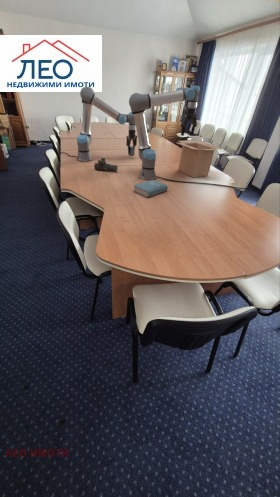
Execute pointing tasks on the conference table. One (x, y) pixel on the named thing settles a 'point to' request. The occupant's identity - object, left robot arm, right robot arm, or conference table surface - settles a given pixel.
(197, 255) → the conference table surface
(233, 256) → the conference table surface
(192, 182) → the right robot arm
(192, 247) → the conference table surface
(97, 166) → the laser sight
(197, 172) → the box
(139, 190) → the book
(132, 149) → the brick
